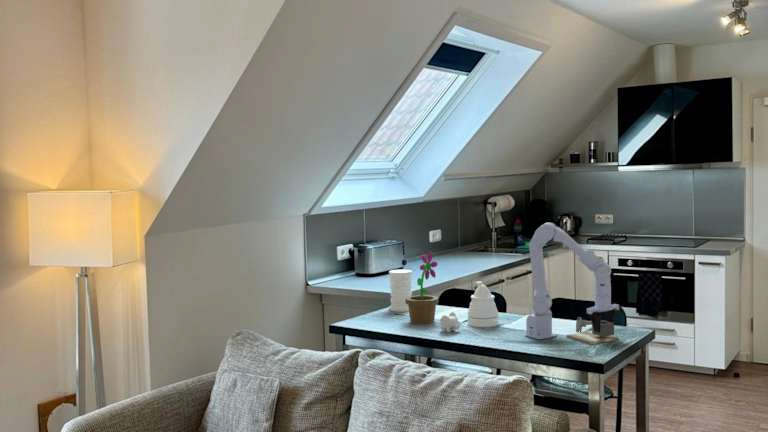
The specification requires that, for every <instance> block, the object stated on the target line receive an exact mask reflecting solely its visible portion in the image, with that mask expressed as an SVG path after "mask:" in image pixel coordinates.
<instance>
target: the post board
mask: <svg viewBox="0 0 768 432" xmlns="http://www.w3.org/2000/svg"><path fill="white" fill-rule="evenodd" d="M567 337H568V338H567ZM566 338H567V339H570V338H572V339H571V340H574V339H575V340H574V341H577V340H578V341H577V342H581V343H584V342H585V344H588V345H595V344H601V343H606V342H612V341H618V340H619V339H620V338H619V336H616V335H615V334H614V335H610V336H604V337H602V336H598V335H595V334H592V330H588V331H581V332H579V333H576V332H575V333H571V334H570V333H569V334H566Z"/></svg>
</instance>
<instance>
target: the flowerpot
mask: <svg viewBox="0 0 768 432" xmlns="http://www.w3.org/2000/svg"><path fill="white" fill-rule="evenodd" d="M420 257H421V261H422V262H423V263H424V264H421V265H420V266H419V270H421V271H422V272H421V273H422V274H421V278H417V281H416V282H417V285H418V286H419V287H420V295H411V296H409V297H406V299H405V303H406V304H408V307H409V311H408V313H409V319H410V323H412V324H414V325H415V324H416V325H427V324H429V325H430V324H433V323H434V322H435V316H436V306H437V304H439V301H440V300H439V297H438V296H436V295H428V293H429V291H428V290H427V289H426V288H425V287H424V277H425V280H428V279H429V278H430V276H431V277H432V278H434V279H435V278H436V277H437V275H436V272H435V270H434V269H433V268H435V267H437V266H438V262H437V261H433V259H432V258H433V254H432V252H431V251H429V252H428V254H427V256H426V255H424V254H421V256H420ZM426 293H427V295H426ZM424 294H425V295H424Z"/></svg>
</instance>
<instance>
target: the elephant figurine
mask: <svg viewBox="0 0 768 432" xmlns="http://www.w3.org/2000/svg"><path fill="white" fill-rule="evenodd" d="M439 322H440V329H441V332H443V333H451V332H453V331H458V330H459V329H460V328H461V327H463V324H462V323H460V322H459V319H458V317H457V315H456V313H455V312H453V311H451V312H450V313H449V314H448V316H447V315H442V316H441V317H440V319H439ZM460 326H461V327H460Z"/></svg>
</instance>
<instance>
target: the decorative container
mask: <svg viewBox="0 0 768 432" xmlns="http://www.w3.org/2000/svg"><path fill="white" fill-rule="evenodd" d="M388 275H389V276H390V279H389V281H390V303H391V304H390V305H389V307H388V309H389V311H391V312H397V313H398V312H400V313H401V312H403V313H405V312H409V307H408V304H406V303H405V299H406V297H409V296H413V292H412V287H413V286H412V280H413V279H412V275H413V270H411V269H392V270H389V271H388Z"/></svg>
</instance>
